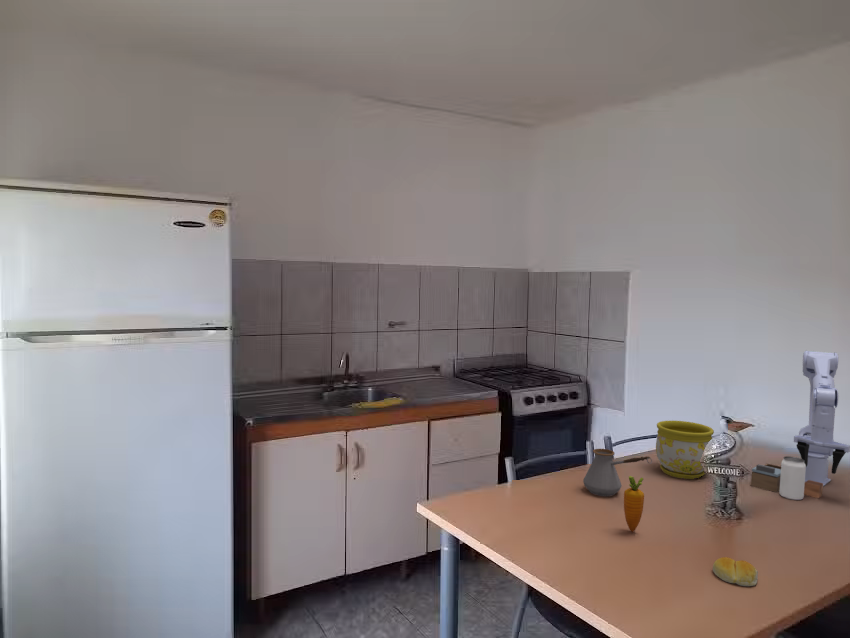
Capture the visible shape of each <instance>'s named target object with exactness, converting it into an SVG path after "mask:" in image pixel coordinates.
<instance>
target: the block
mask: <svg viewBox="0 0 850 638" xmlns="http://www.w3.org/2000/svg"><path fill="white" fill-rule="evenodd" d="M823 487H824V486H823V483H820V482H815V481H811V480H808V481H806V482H805V486H804V496H806V497H811V498H814V499H819V498H821V497H822V496H823V489H824V488H823Z"/></svg>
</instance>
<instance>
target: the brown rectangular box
mask: <svg viewBox="0 0 850 638" xmlns="http://www.w3.org/2000/svg"><path fill="white" fill-rule="evenodd" d="M763 465H764V466H769V467H773V468H777V469H781V465H776V464H771V463H765V464H763ZM780 476H781V475H780ZM780 476H779V477H774V476H770V475H766V474H762V473H758V472H753V471H751V478H750V486H751V487H753V488H754V487H755V488H758V489H762V490H766V491H769V492H770V491H771V492H774V493H778V492H779V491H780Z"/></svg>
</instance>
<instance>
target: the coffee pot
mask: <svg viewBox="0 0 850 638" xmlns="http://www.w3.org/2000/svg"><path fill="white" fill-rule="evenodd" d="M592 452H593V453H594V458H593V460H592V462H591V464H590V466H589V468H588V470H587V472H586V473H585V476H584V478H583V481H582V482H583V485H584V487H585V488H586V489H587V490H588V491H589V493H591V494H593V495H595V496H600V497H612V496H614V495H616V494H617V493H618V492H619V491H620V490H621V488H622V487H623V486H622V482H621V480H620V477H619V474H618V472H617V469H616V468H617V467H616V465H621V464H628V463H637V462H640V461H642V462H643V461H645V460H646V462H647V464H652V463H653V459H652V458H651V457H650V456H640V457H632V458H627V459H623V460H617V461H613V457H614V455H615V454H616V453H615V451H614V450H612V449H611V450H610V449H607V448H595V449H593V451H592ZM649 459H650V462H649V461H648V460H649Z"/></svg>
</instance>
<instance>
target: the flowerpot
mask: <svg viewBox="0 0 850 638" xmlns="http://www.w3.org/2000/svg"><path fill="white" fill-rule="evenodd" d="M656 428H657V437H656V440H655V441H656V442H655V453H656V457H657V459H658V461H659V463H660V465H659V467H660V469H661V470H662V472H663V473H664V474H666V475H668V476H670V477H673V478H677V479H682V478H684V480H695V479H694V478H698V479H700V478H699V477H701V476H702V477H703V476H704V475H706V472H705V473H704V471H705V470H704V468H703V466H702V464H701V463H700V459H701V457H702V454H703V452H704V449H705V447H706V445H707V444H708V442H709V441H710V440H711V439H712V440H713V435H714V433H715V432H714V431H715V430H714V429H713V428H712V427H710V426H707V425H706V424H702V423H697V422H691V421H685V420H662V421H659V422H657V423H656ZM702 477H701V478H702Z"/></svg>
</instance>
